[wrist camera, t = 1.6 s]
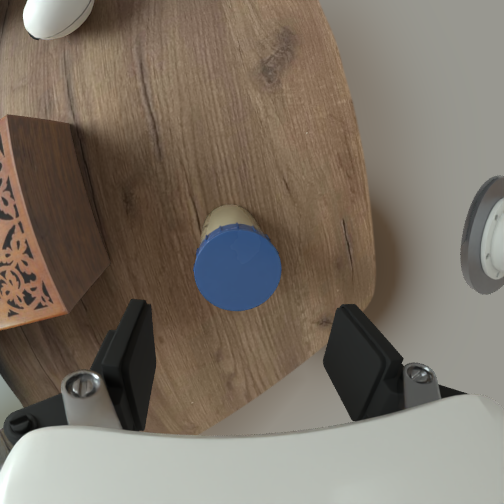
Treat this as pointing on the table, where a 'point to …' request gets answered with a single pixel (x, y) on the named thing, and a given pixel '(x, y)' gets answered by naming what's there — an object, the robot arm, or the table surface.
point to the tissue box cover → (43, 223)
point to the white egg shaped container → (55, 17)
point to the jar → (227, 219)
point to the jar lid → (237, 267)
